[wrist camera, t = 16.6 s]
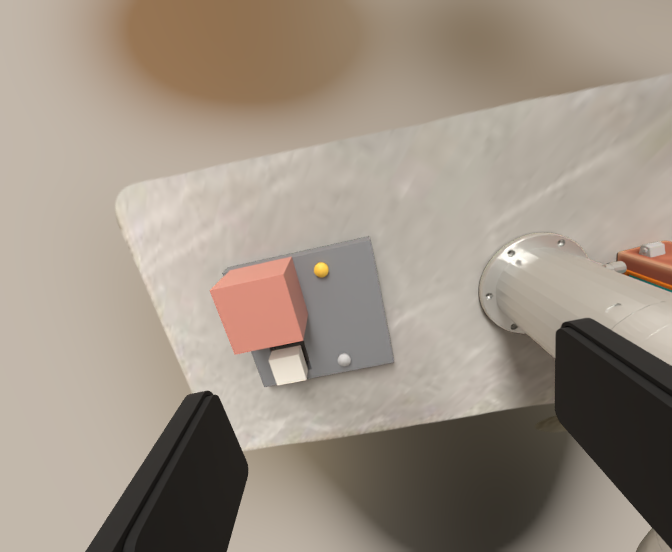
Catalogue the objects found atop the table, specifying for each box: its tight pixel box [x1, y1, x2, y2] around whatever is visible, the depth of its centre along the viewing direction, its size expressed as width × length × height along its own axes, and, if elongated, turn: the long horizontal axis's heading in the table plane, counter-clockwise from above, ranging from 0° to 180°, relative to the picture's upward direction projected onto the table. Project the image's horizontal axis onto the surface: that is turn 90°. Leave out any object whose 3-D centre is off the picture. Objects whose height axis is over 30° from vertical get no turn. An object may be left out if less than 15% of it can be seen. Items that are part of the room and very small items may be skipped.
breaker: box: [268, 345, 308, 386], centre depth 38 cm, size 4×4×2 cm
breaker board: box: [222, 236, 394, 387], centre depth 38 cm, size 17×16×3 cm
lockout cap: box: [210, 257, 308, 354], centre depth 33 cm, size 7×7×6 cm
